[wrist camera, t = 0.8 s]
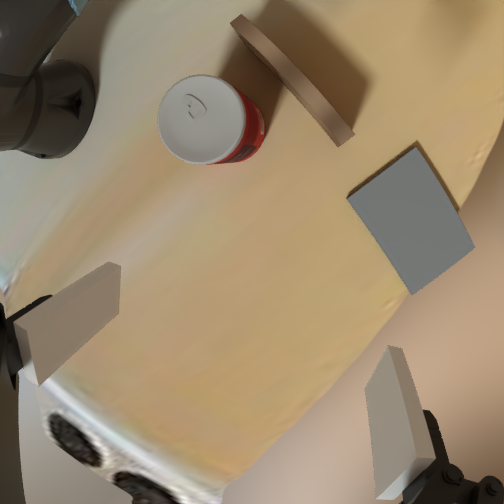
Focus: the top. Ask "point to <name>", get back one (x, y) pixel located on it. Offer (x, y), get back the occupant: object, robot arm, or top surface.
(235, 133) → the canned food
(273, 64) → the walnut screen
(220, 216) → the top surface
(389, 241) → the slate mat
